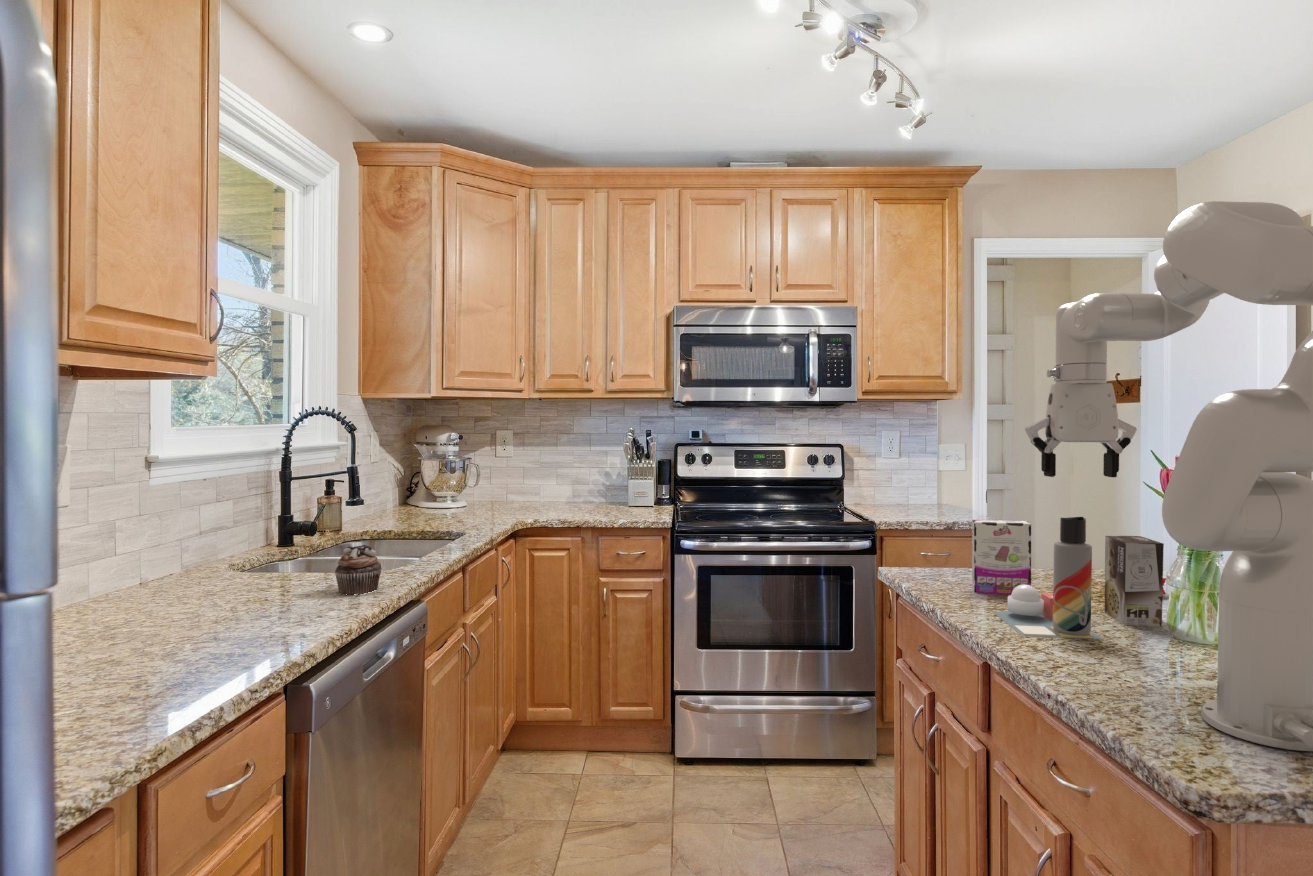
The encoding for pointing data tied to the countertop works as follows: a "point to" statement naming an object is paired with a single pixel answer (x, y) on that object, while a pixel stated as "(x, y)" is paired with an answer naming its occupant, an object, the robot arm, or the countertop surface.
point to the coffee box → (1134, 580)
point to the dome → (1025, 601)
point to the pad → (1073, 635)
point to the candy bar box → (1000, 555)
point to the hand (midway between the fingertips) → (1079, 476)
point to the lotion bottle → (1072, 579)
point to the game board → (1036, 622)
